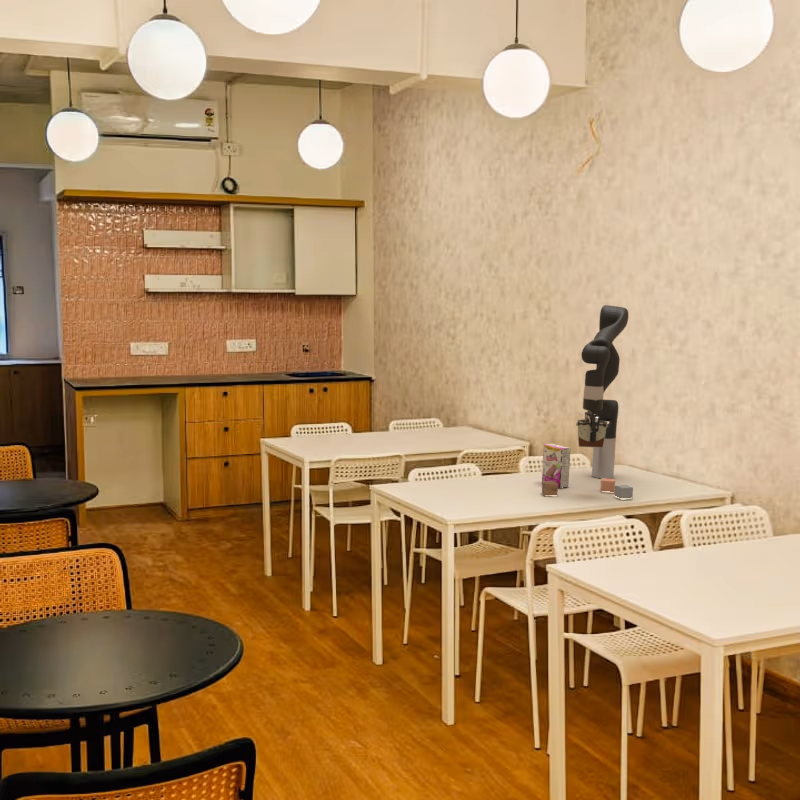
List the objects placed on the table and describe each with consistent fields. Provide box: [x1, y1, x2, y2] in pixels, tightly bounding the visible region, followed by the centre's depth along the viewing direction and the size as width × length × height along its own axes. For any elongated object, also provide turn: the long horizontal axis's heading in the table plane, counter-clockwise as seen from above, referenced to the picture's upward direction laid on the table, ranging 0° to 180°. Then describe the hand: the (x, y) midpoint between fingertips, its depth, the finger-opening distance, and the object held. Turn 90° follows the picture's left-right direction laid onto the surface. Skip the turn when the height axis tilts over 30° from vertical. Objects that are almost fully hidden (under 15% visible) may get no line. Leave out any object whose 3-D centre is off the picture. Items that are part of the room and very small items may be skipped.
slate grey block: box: [613, 484, 634, 498], centre depth 389 cm, size 5×5×5 cm
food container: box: [575, 418, 609, 448], centre depth 390 cm, size 12×6×10 cm, turn 85°
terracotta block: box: [600, 478, 616, 493], centre depth 401 cm, size 5×5×5 cm
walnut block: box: [541, 481, 559, 496], centre depth 392 cm, size 5×5×5 cm
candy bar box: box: [541, 443, 571, 489], centre depth 409 cm, size 11×5×16 cm, turn 34°
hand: (590, 440), depth 390 cm, fingers closed on food container, 5 cm apart
